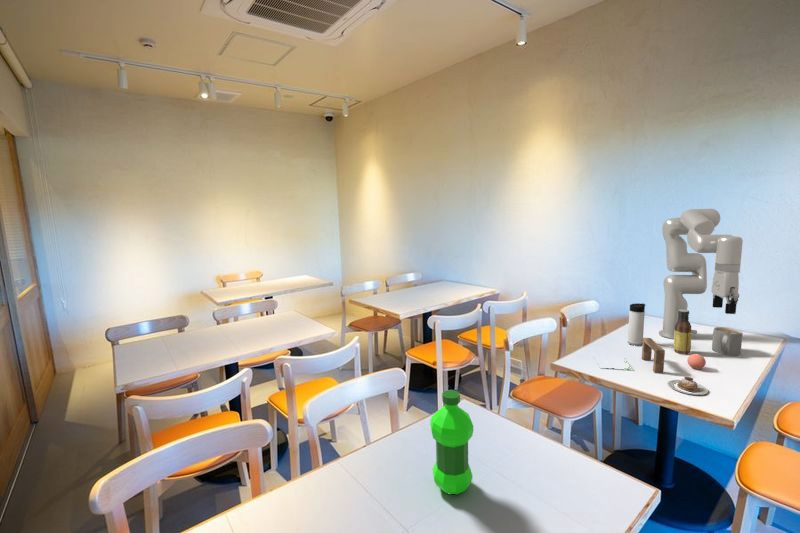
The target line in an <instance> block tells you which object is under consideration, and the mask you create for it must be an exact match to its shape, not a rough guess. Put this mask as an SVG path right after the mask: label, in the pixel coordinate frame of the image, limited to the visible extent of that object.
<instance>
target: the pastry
mask: <svg viewBox="0 0 800 533" xmlns="http://www.w3.org/2000/svg"><path fill="white" fill-rule="evenodd" d="M676 383H678V384H676ZM674 384H675V385H677V387H678V388H679V389H678V388H677V387H675V385H674ZM667 386H669V387H670V388H671V389H672V390H675V391H677V392H680V393H683V394H687V395H694V396H695V395H696V396H704V395H707V394H709V390H708V388H707V387H706V386H704V385H702V384H699V383H697V382H696V381H694V377H690V376H684V378H682V379H672V380H669V381H668V382H667ZM680 389H681V390H680ZM683 389H684V391H683ZM699 391H701V392H699ZM697 392H698V393H697Z"/></svg>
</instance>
